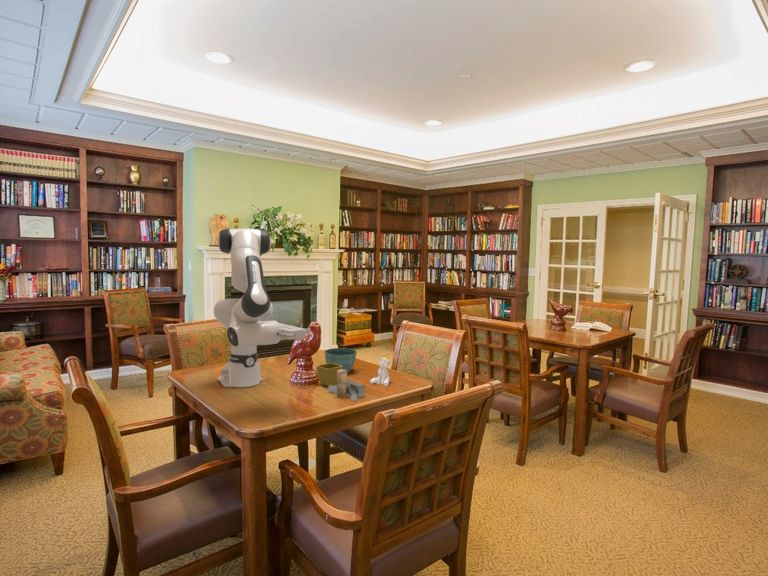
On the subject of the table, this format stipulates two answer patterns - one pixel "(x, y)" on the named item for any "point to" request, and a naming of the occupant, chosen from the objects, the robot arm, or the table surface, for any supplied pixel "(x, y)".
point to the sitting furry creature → (382, 373)
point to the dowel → (341, 383)
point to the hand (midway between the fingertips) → (302, 329)
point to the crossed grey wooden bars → (351, 390)
